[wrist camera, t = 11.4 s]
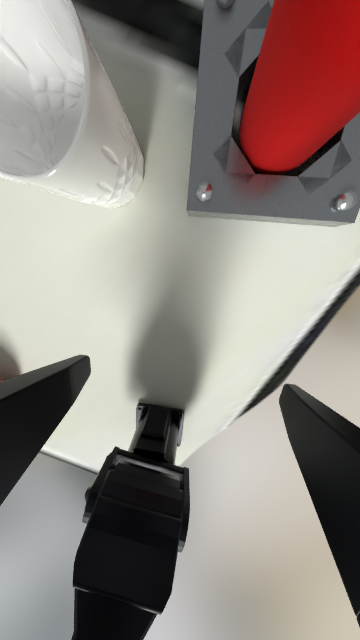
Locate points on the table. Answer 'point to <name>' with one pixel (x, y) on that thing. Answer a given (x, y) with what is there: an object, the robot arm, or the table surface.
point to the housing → (226, 158)
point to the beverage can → (302, 83)
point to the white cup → (61, 109)
